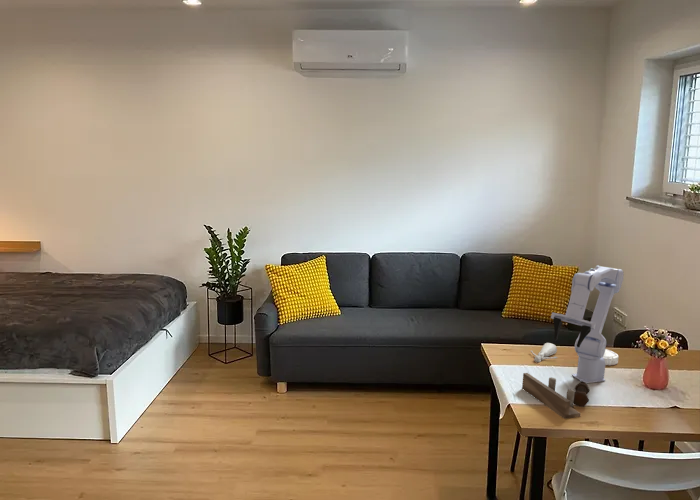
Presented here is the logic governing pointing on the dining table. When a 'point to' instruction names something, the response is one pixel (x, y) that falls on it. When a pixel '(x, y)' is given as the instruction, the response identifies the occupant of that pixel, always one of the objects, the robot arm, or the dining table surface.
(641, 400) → the dining table surface
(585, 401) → the dark brown elongated lump
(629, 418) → the dining table surface
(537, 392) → the peg rack
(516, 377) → the dining table surface
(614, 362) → the mooncake
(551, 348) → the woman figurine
